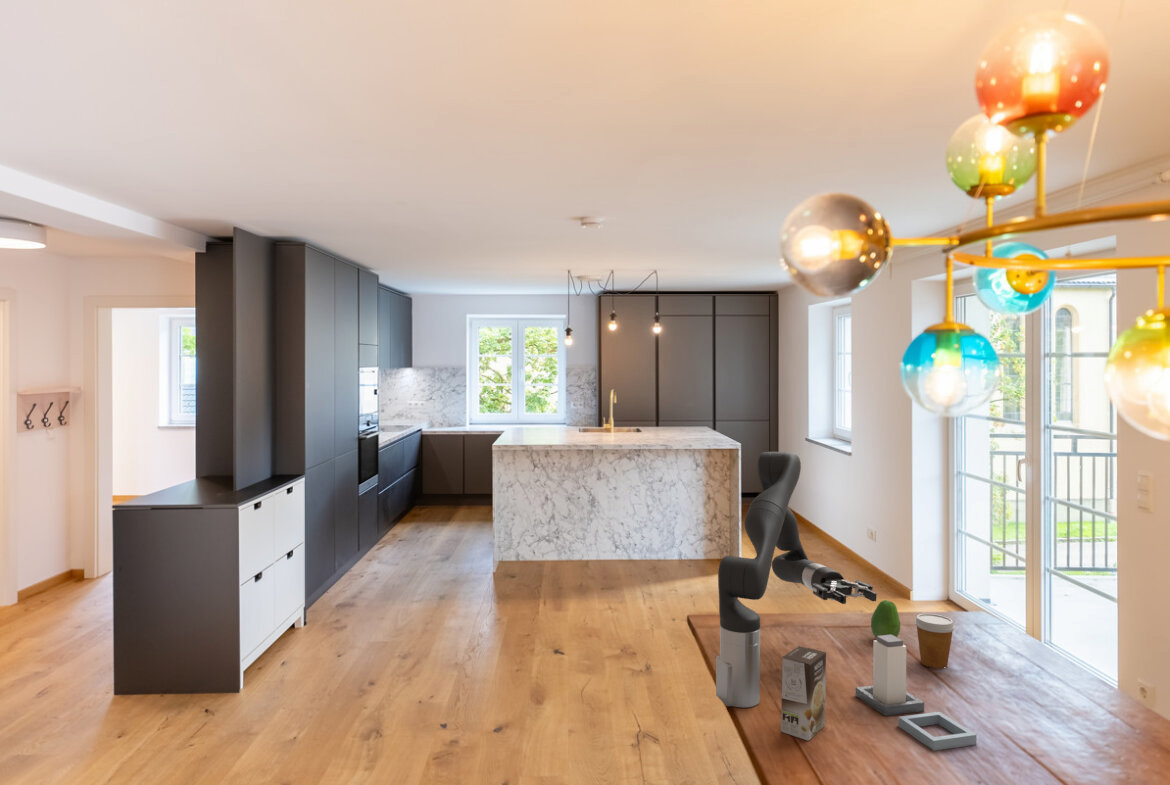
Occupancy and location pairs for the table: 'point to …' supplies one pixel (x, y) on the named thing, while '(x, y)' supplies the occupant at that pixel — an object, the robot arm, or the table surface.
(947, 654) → the disposable coffee cup
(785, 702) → the coffee box
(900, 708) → the back socket
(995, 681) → the table surface
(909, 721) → the front socket
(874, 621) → the avocado
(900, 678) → the plug
